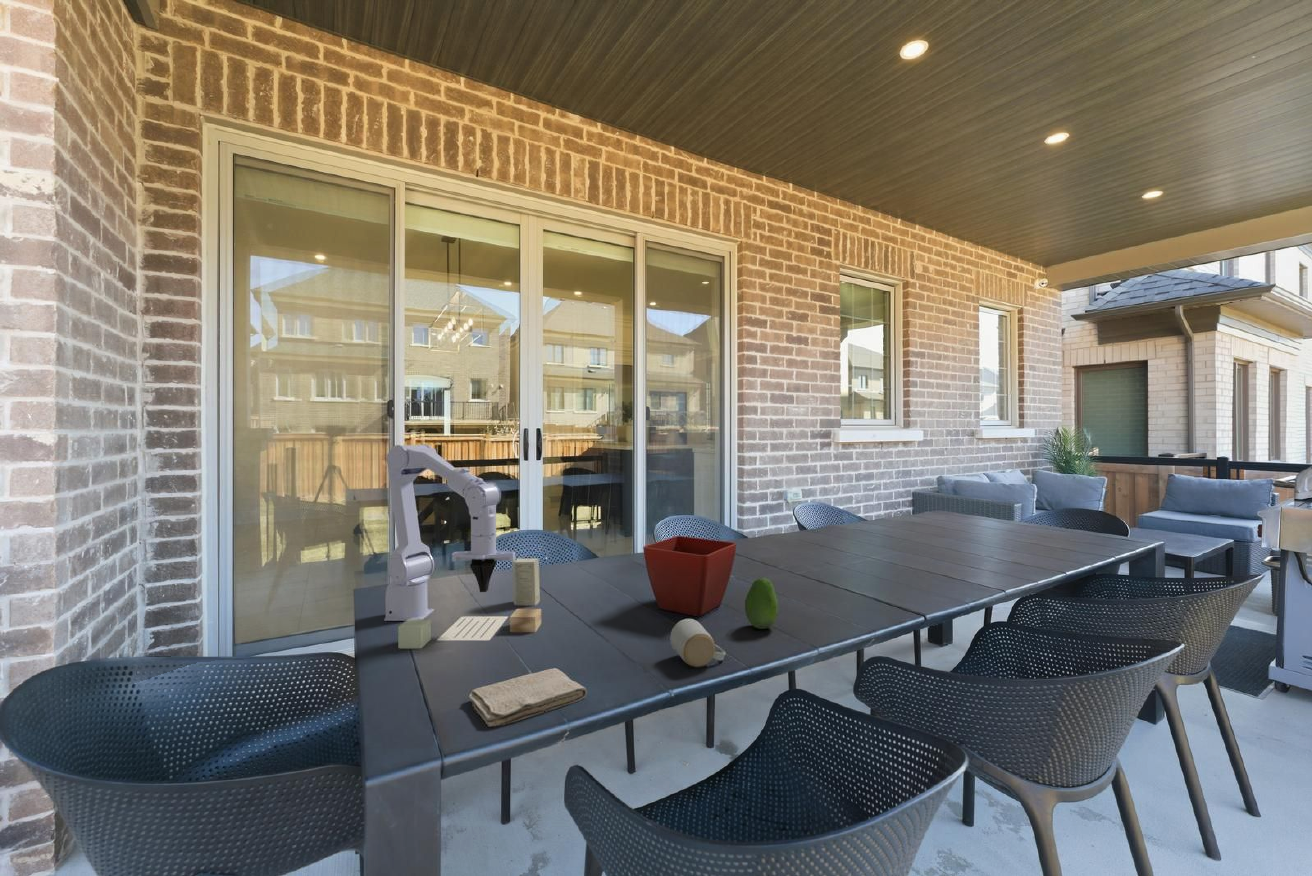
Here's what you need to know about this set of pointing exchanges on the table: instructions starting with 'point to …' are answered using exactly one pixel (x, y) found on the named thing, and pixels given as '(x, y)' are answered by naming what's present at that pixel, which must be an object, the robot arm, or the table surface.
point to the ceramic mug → (694, 643)
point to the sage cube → (414, 633)
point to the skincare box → (526, 581)
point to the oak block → (525, 620)
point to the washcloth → (525, 696)
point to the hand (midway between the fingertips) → (484, 591)
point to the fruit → (761, 604)
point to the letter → (473, 628)
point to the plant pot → (689, 573)
